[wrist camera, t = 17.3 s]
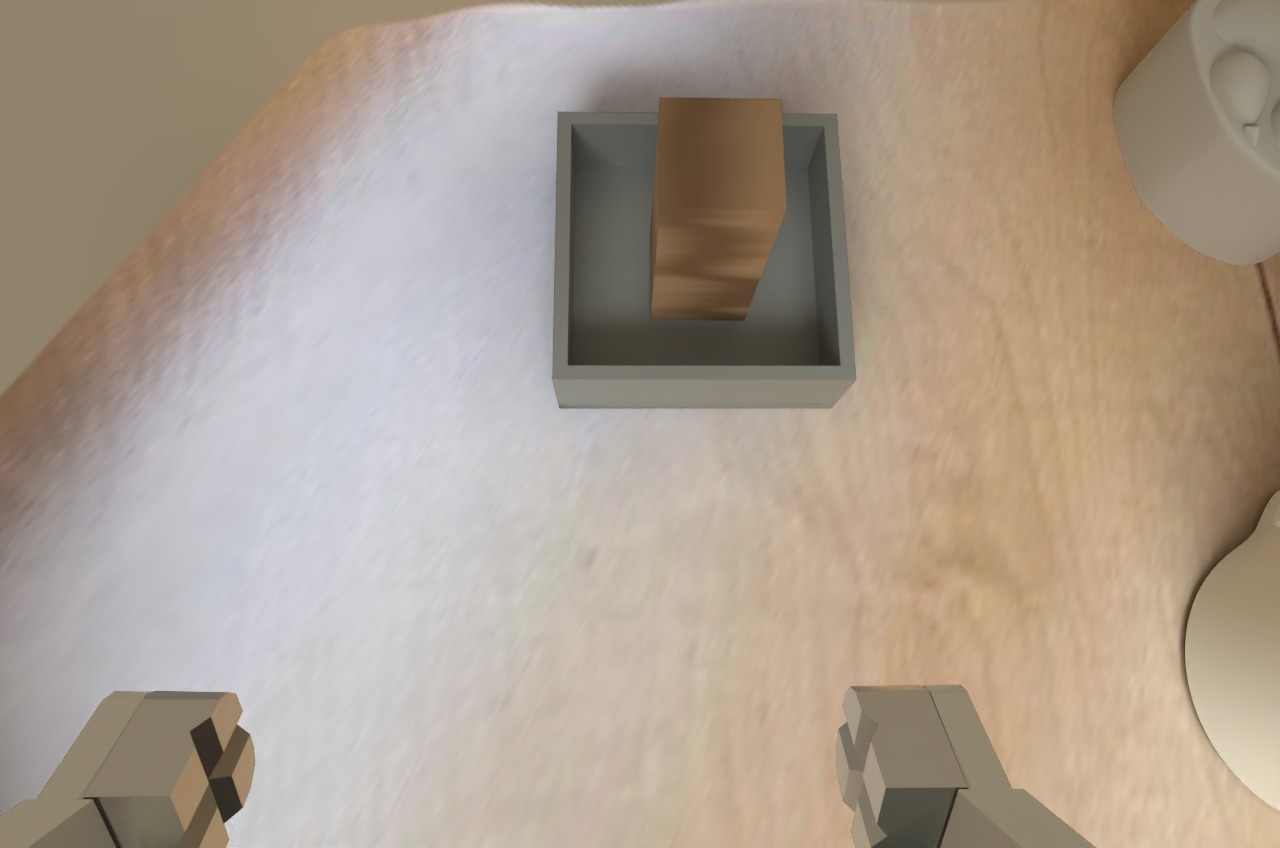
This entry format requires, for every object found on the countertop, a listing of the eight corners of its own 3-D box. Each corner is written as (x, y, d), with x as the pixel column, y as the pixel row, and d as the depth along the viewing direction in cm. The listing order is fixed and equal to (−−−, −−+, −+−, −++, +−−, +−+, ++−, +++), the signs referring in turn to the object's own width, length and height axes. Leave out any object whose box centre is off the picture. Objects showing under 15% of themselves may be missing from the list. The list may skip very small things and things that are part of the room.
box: (815, 166, 49) (836, 114, 44) (831, 408, 46) (856, 379, 41) (563, 164, 49) (557, 111, 44) (559, 408, 45) (552, 379, 40)
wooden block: (741, 234, 47) (781, 99, 35) (744, 320, 46) (786, 209, 34) (649, 234, 47) (659, 97, 35) (650, 320, 46) (660, 207, 34)
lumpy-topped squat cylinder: (1259, 57, 52) (1382, -57, 43) (1336, 252, 49) (1485, 170, 40) (1095, 78, 51) (1188, -33, 43) (1162, 277, 48) (1277, 199, 40)
